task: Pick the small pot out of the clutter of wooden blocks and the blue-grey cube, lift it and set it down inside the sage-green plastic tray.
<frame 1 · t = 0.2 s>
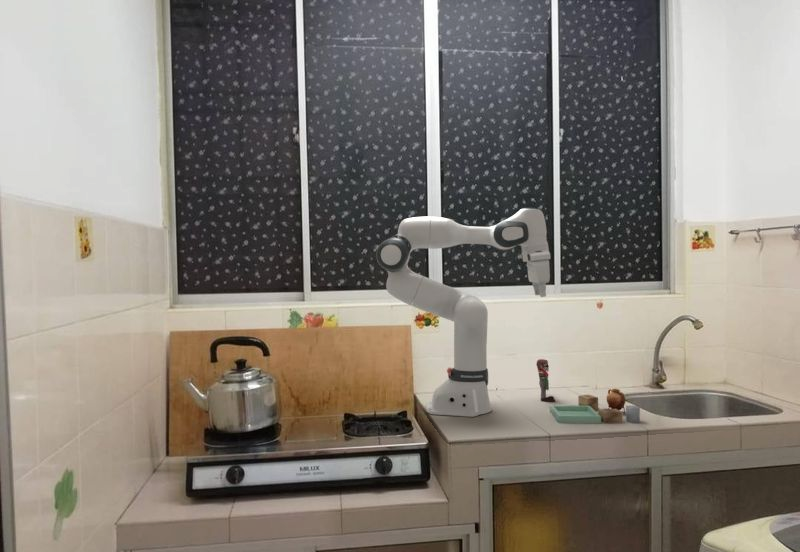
hand: (540, 295, 184), 39 cm above the counter, tool pointing down, fingers open, 8 cm apart
blue-grey cube: (632, 421, 170), on the counter
tray: (574, 417, 176), on the counter
walnut block: (610, 421, 171), on the counter
oak cube: (588, 409, 185), on the counter
toy: (545, 400, 198), on the counter
pot: (616, 413, 180), on the counter
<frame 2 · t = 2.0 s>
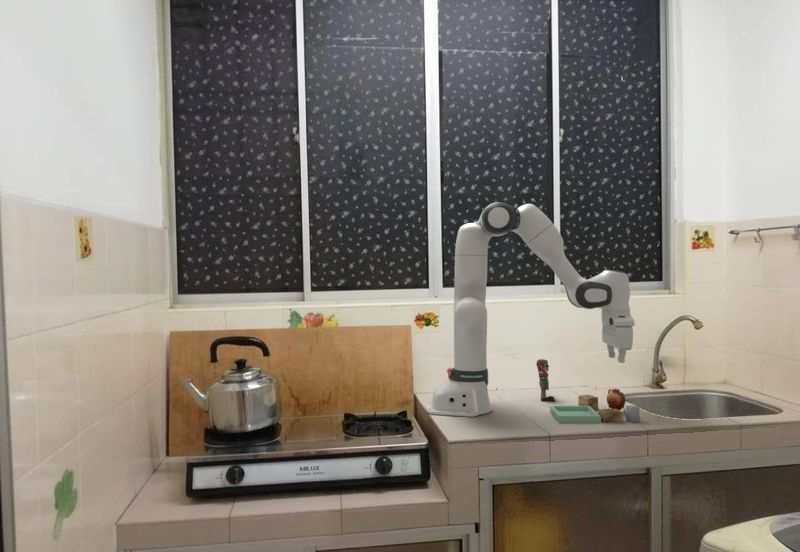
hand: (616, 360, 180), 18 cm above the counter, tool pointing down, fingers open, 8 cm apart
nothing on the counter moved.
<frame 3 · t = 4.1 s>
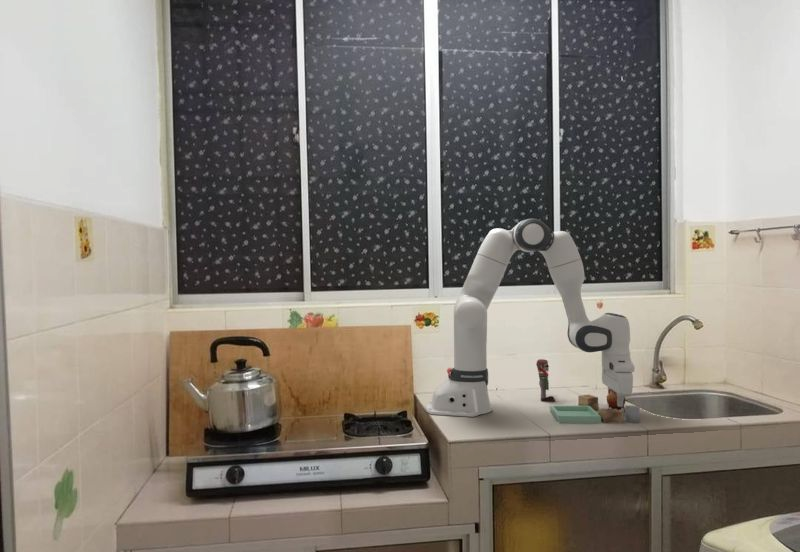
hand: (616, 403, 180), 3 cm above the counter, tool pointing down, fingers closed on pot, 6 cm apart
pot: (616, 413, 180), on the counter, touching gripper
everything else where it was.
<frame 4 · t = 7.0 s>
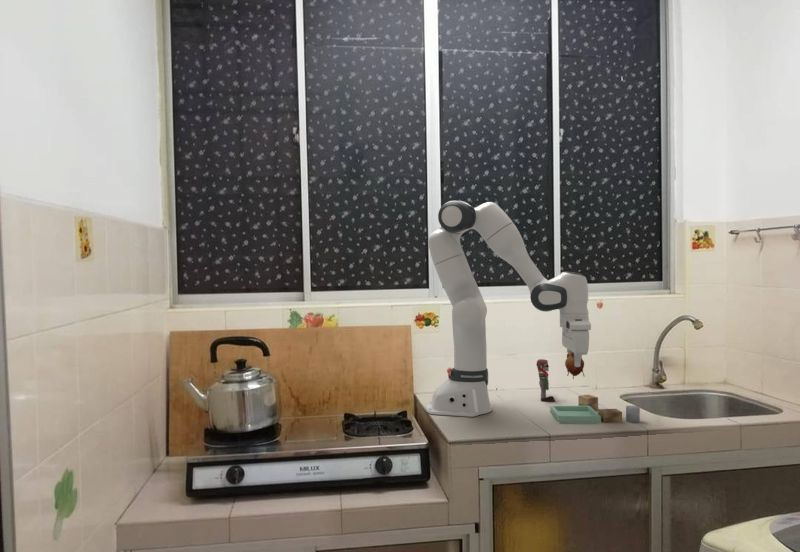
hand: (574, 364, 175), 17 cm above the counter, tool pointing down, fingers closed on pot, 6 cm apart
pot: (575, 377, 175), point 13 cm above the counter, touching gripper
everything else where it was.
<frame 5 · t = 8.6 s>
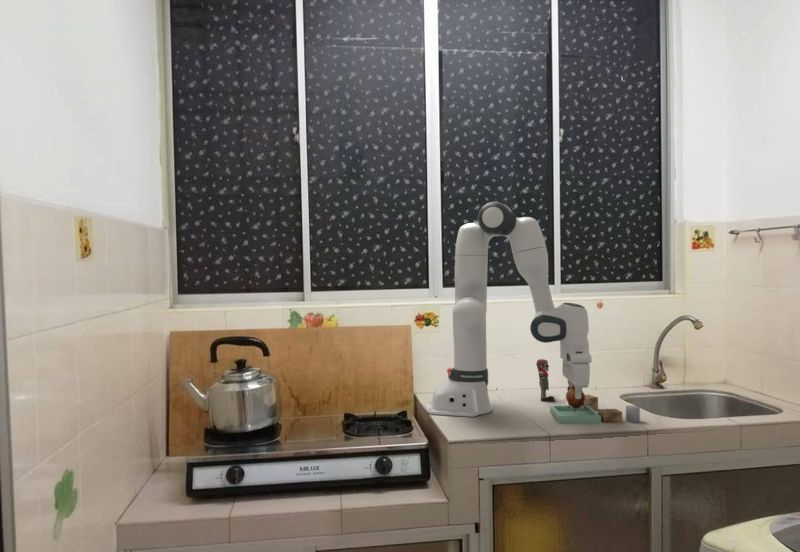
hand: (574, 395, 175), 7 cm above the counter, tool pointing down, fingers closed on pot, 6 cm apart
pot: (576, 410, 176), point 2 cm above the counter, touching gripper
everything else where it was.
when the fingers open (6 cm above the counter, at t = 9.8 s): pot stays where it is, resting on tray.
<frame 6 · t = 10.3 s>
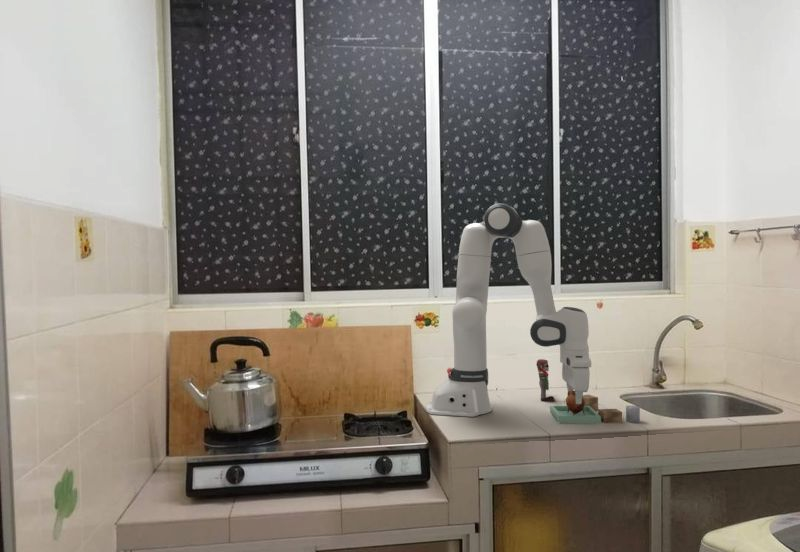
hand: (574, 399, 176), 6 cm above the counter, tool pointing down, fingers open, 8 cm apart
pot: (575, 415, 176), resting on tray
everything else where it was.
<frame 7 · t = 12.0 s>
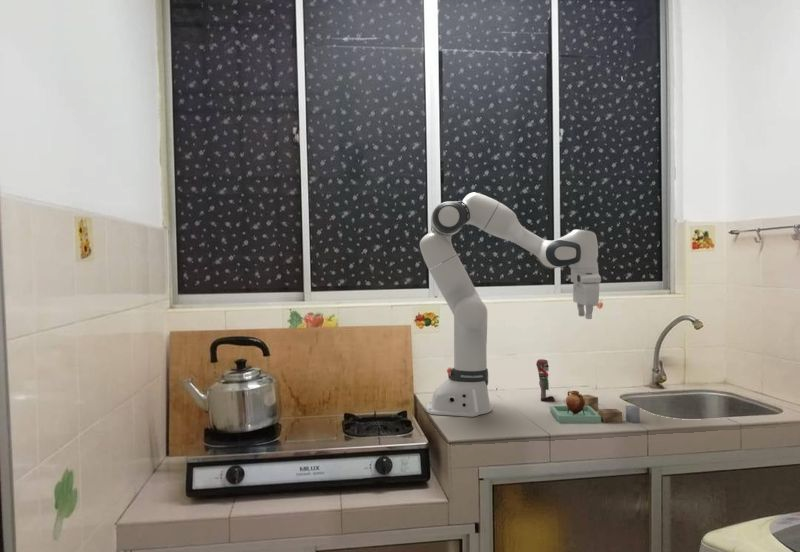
hand: (585, 317, 184), 31 cm above the counter, tool pointing down, fingers open, 8 cm apart
nothing on the counter moved.
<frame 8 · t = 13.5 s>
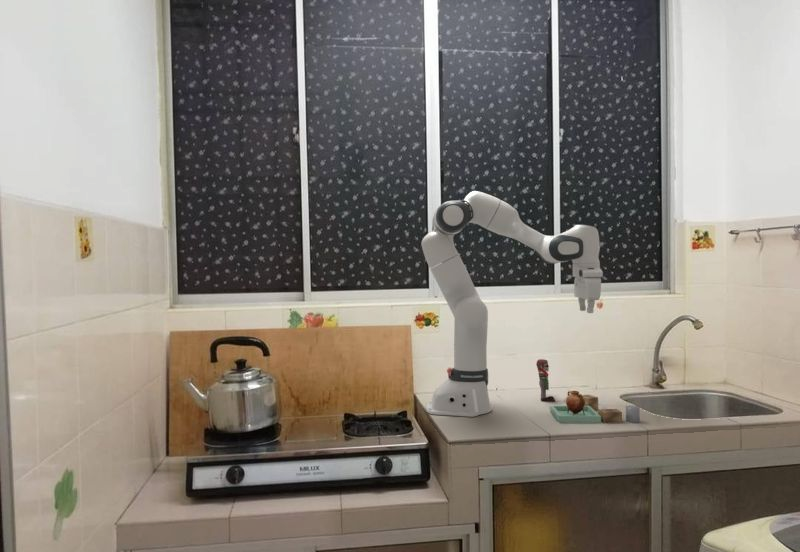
hand: (586, 311, 186), 33 cm above the counter, tool pointing down, fingers open, 8 cm apart
nothing on the counter moved.
at the end: pot inside the target area on the tray (0.3 cm from its centre), point 0.4 cm above the tray's base; the gripper is holding nothing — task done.
